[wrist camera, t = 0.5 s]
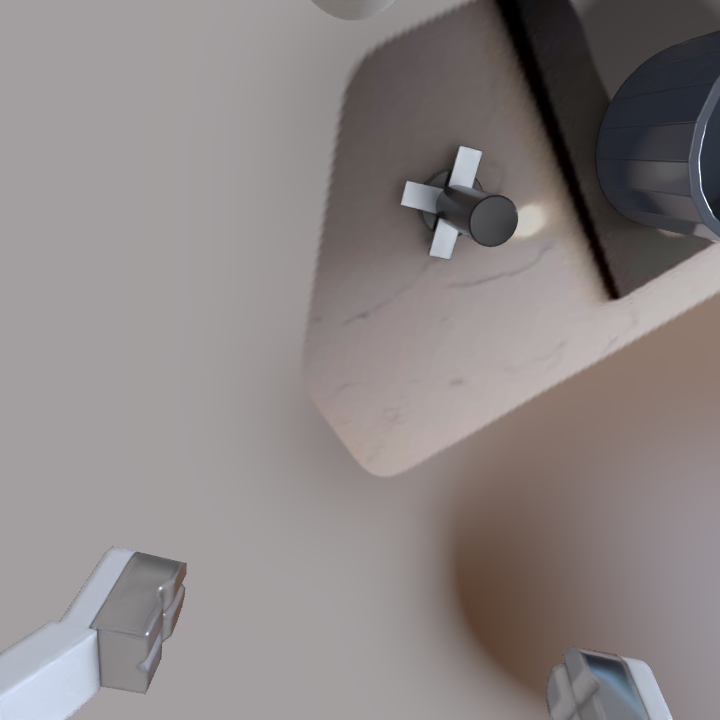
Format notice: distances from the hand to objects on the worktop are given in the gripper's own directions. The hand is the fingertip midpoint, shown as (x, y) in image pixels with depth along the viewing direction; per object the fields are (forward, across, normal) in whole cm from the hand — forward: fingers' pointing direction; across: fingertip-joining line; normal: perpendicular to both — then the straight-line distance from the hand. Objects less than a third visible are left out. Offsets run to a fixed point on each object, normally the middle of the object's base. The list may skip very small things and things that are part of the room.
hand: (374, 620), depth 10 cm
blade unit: (+29, -3, -4) cm, 30 cm away
